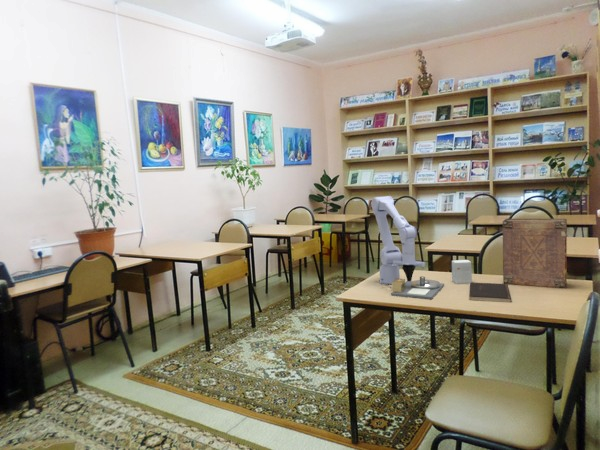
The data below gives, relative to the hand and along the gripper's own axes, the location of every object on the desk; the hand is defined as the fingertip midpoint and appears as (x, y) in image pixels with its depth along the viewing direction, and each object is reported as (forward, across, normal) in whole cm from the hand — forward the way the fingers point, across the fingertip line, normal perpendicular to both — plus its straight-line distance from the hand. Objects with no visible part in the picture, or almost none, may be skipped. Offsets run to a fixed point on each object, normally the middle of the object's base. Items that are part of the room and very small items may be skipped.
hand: (409, 280), depth 200 cm
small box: (+4, +20, +20) cm, 29 cm away
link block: (+3, -2, -8) cm, 9 cm away
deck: (+4, +4, -1) cm, 6 cm away
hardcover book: (+5, +34, +4) cm, 35 cm away
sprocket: (+3, +6, +4) cm, 8 cm away
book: (+4, +50, +27) cm, 57 cm away
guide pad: (+3, +6, -8) cm, 10 cm away
